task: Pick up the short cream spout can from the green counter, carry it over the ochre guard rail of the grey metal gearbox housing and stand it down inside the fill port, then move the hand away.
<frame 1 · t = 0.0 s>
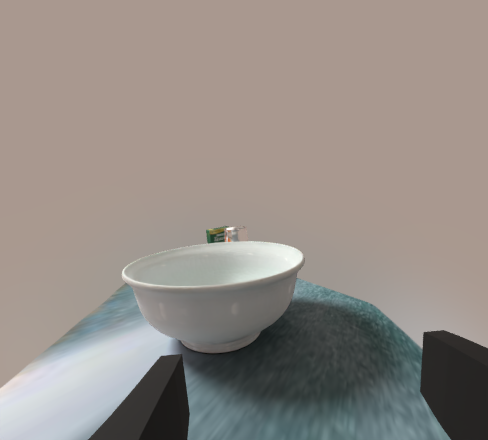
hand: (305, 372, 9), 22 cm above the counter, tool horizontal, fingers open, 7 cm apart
silver metal tumbler: (239, 278, 89), on the counter
coffee box: (221, 265, 105), on the counter
bowl: (221, 332, 57), on the counter
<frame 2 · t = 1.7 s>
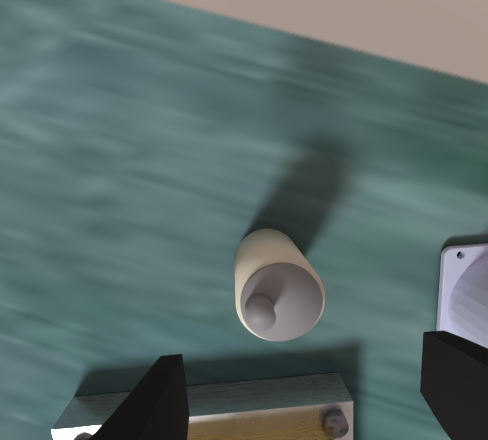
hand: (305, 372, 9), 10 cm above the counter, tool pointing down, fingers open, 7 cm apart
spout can: (266, 259, 19), on the counter
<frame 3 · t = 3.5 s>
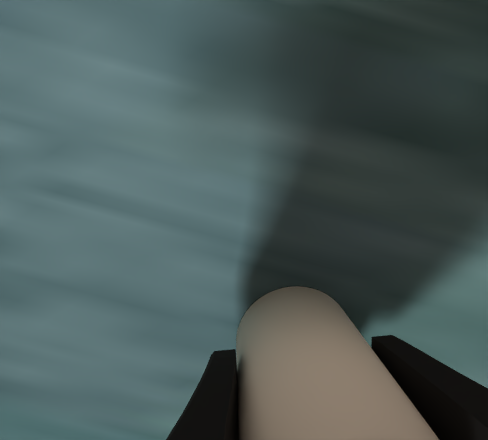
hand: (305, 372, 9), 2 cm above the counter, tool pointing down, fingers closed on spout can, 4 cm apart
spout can: (293, 340, 10), on the counter, touching gripper
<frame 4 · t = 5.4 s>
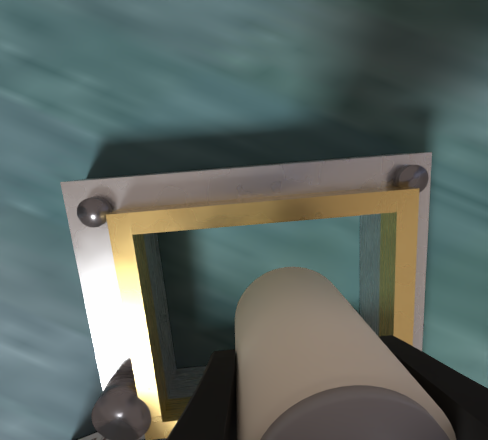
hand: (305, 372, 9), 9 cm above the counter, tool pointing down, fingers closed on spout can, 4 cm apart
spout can: (290, 319, 11), point 7 cm above the counter, touching gripper
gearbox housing: (263, 288, 18), on the counter
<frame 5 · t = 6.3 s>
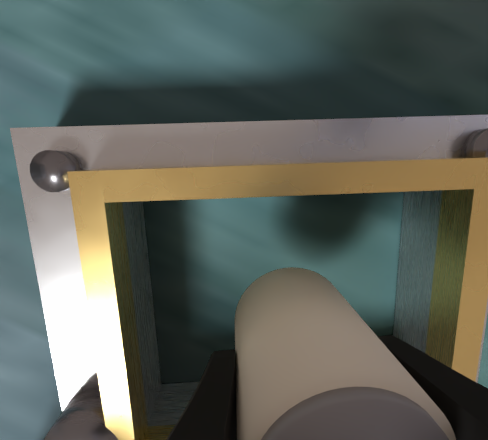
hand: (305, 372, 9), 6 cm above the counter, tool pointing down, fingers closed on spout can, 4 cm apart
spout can: (290, 320, 11), point 4 cm above the counter, touching gripper
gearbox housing: (276, 287, 15), on the counter
when the fingers open (3 cm above the counter, at t = 7.2 s): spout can stays where it is, resting in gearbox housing.
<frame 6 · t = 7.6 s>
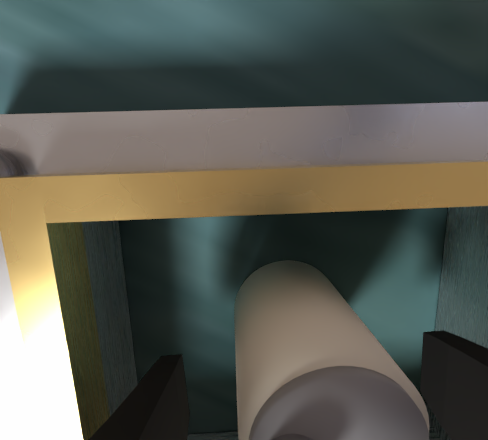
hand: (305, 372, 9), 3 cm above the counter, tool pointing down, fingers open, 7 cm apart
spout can: (285, 309, 12), resting in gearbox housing
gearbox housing: (286, 320, 12), on the counter
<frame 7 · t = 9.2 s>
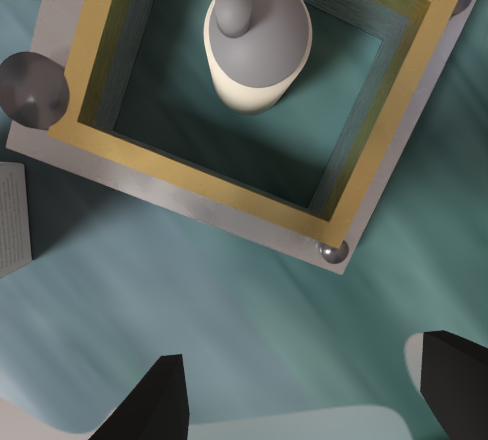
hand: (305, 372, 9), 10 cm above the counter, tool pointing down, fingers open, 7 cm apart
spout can: (249, 77, 16), resting in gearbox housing
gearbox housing: (246, 85, 16), on the counter
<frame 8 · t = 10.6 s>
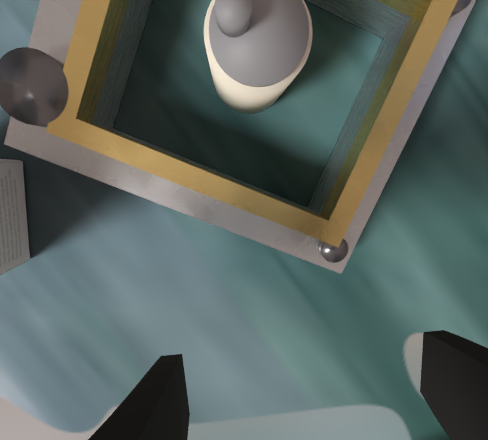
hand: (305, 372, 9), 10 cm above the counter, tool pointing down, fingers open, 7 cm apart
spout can: (249, 75, 16), resting in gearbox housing
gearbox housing: (246, 83, 16), on the counter
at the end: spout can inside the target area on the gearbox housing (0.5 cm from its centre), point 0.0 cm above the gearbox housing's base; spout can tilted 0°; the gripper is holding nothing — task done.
